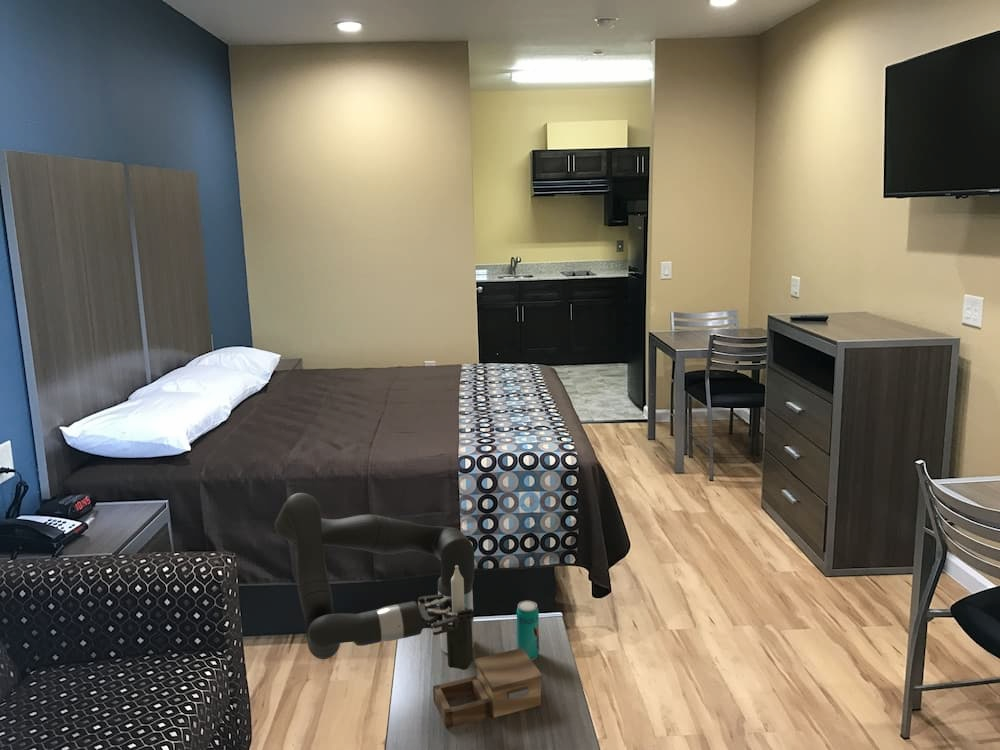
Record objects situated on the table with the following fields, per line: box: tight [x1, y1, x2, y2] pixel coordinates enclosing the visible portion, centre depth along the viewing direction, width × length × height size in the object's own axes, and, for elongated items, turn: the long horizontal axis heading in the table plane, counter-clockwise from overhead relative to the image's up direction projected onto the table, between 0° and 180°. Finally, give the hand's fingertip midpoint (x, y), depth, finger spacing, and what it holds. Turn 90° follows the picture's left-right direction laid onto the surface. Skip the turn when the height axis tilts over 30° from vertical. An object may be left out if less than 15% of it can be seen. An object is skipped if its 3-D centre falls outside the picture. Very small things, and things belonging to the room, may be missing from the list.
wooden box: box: [432, 648, 543, 729], centre depth 187 cm, size 14×24×8 cm, turn 110°
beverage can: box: [516, 600, 540, 662], centre depth 205 cm, size 6×6×15 cm
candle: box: [446, 565, 474, 671], centre depth 181 cm, size 5×5×25 cm
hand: (468, 606), depth 181 cm, fingers closed on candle, 6 cm apart
